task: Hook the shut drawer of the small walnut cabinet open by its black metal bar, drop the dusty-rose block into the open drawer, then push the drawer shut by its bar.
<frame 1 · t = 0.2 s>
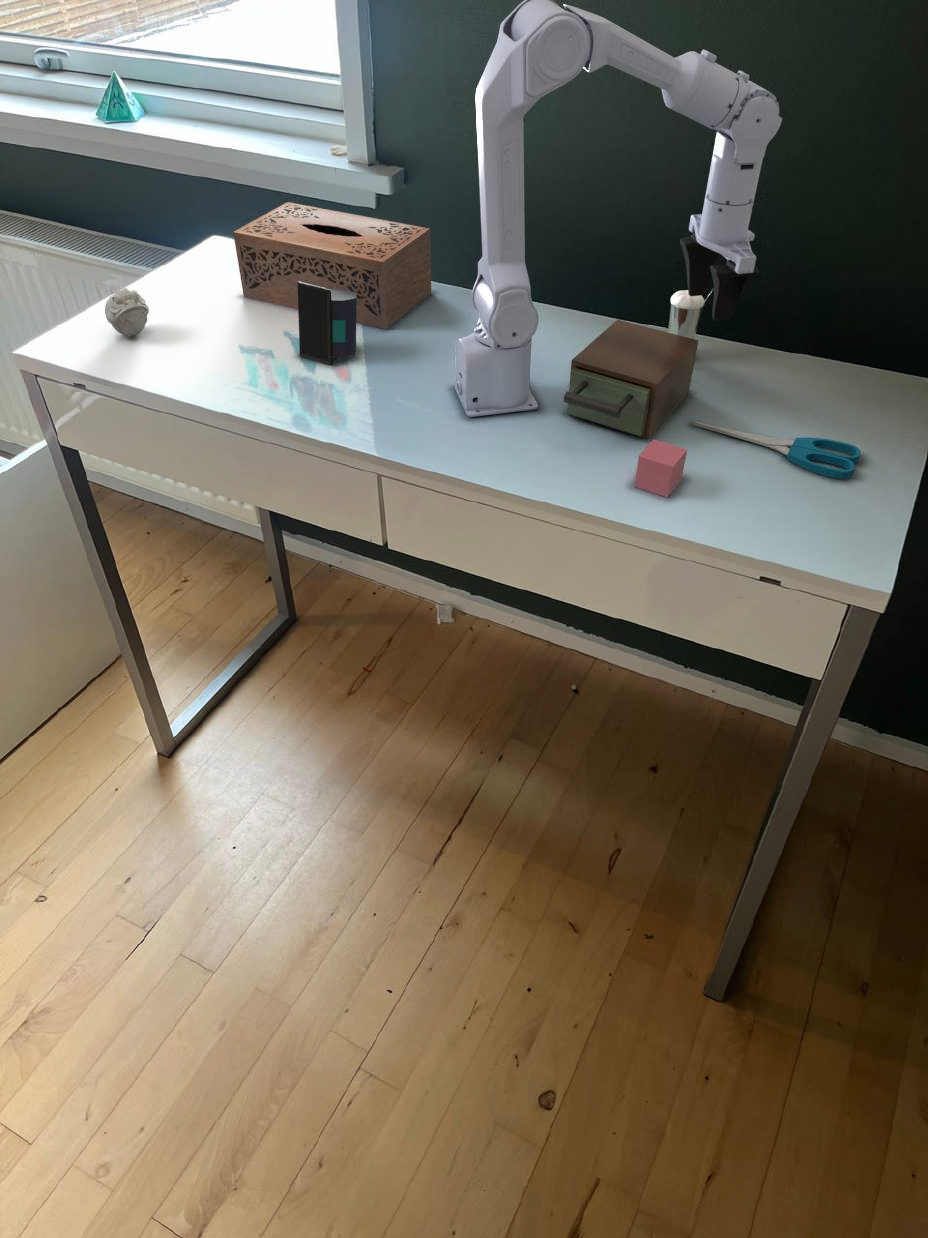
hand: (708, 306, 119), 10 cm above the table, tool pointing down, fingers open, 7 cm apart
block: (657, 483, 107), on the table
milkshake: (680, 356, 131), on the table
frog figurine: (133, 335, 135), on the table
tissue box cover: (338, 295, 145), on the table
cabinet: (628, 403, 121), on the table
speaker: (333, 353, 131), on the table
scissors: (771, 447, 113), on the table
drawer: (618, 390, 116), point 4 cm above the table, slide at 0.0 cm, touching cabinet
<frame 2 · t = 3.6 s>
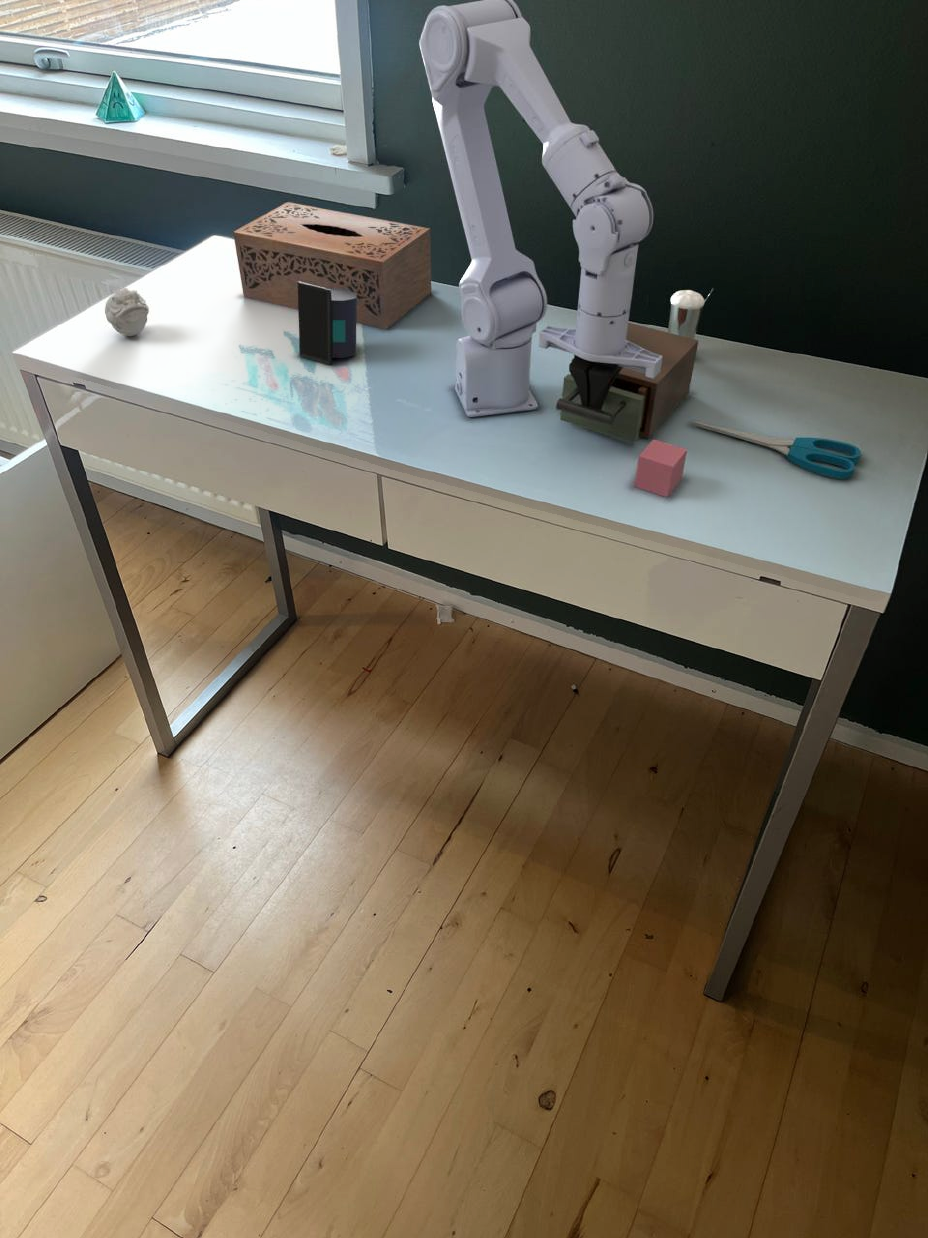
hand: (592, 415, 110), 4 cm above the table, tool pointing down, fingers closed, pressing on drawer
drawer: (612, 397, 114), point 4 cm above the table, slide at 1.9 cm, touching gripper
everything else where it was.
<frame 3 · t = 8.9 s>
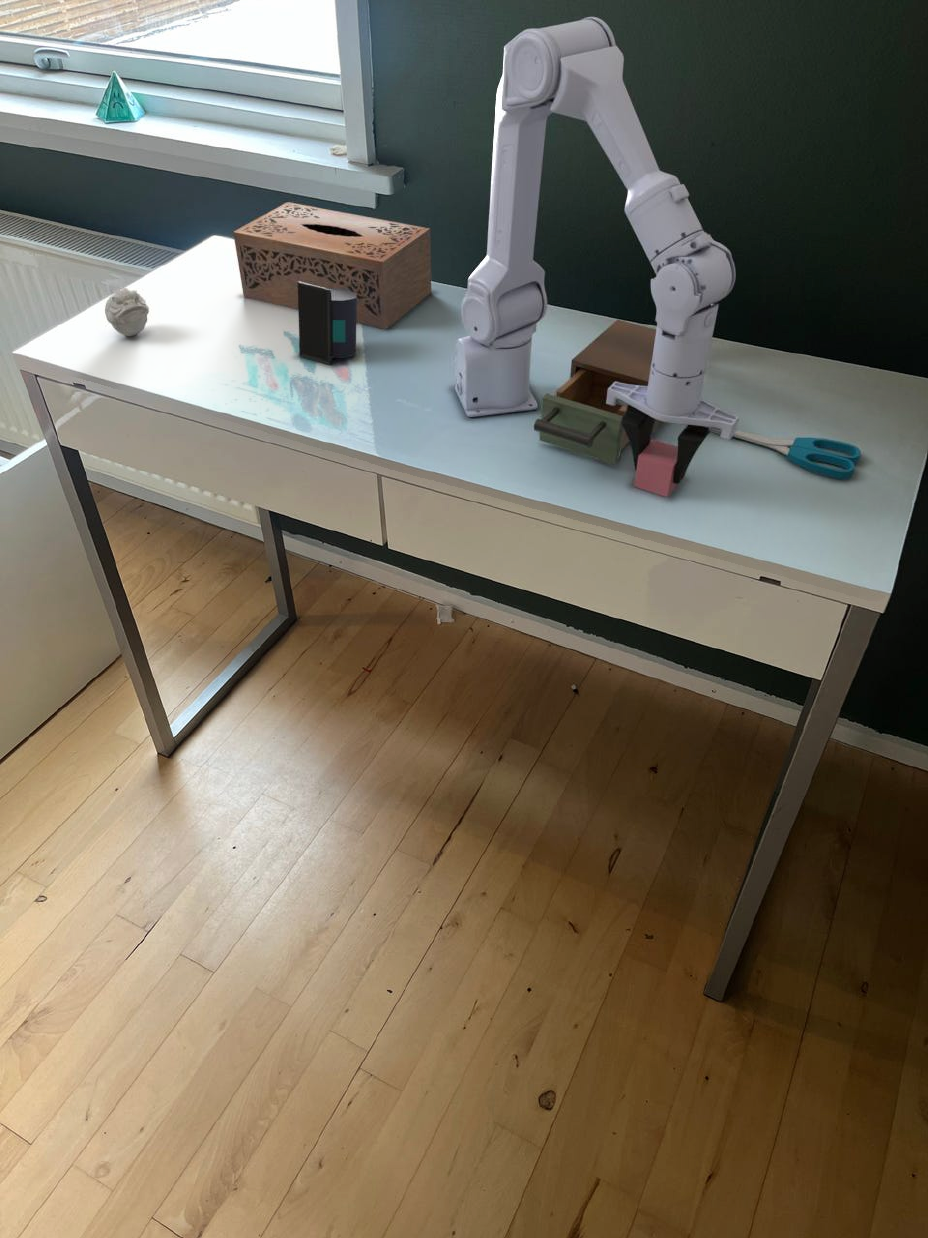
hand: (659, 473, 106), 1 cm above the table, tool pointing down, fingers closed on block, 4 cm apart
block: (657, 483, 107), on the table, touching gripper
drawer: (592, 417, 111), point 4 cm above the table, slide at 7.5 cm
everything else where it was.
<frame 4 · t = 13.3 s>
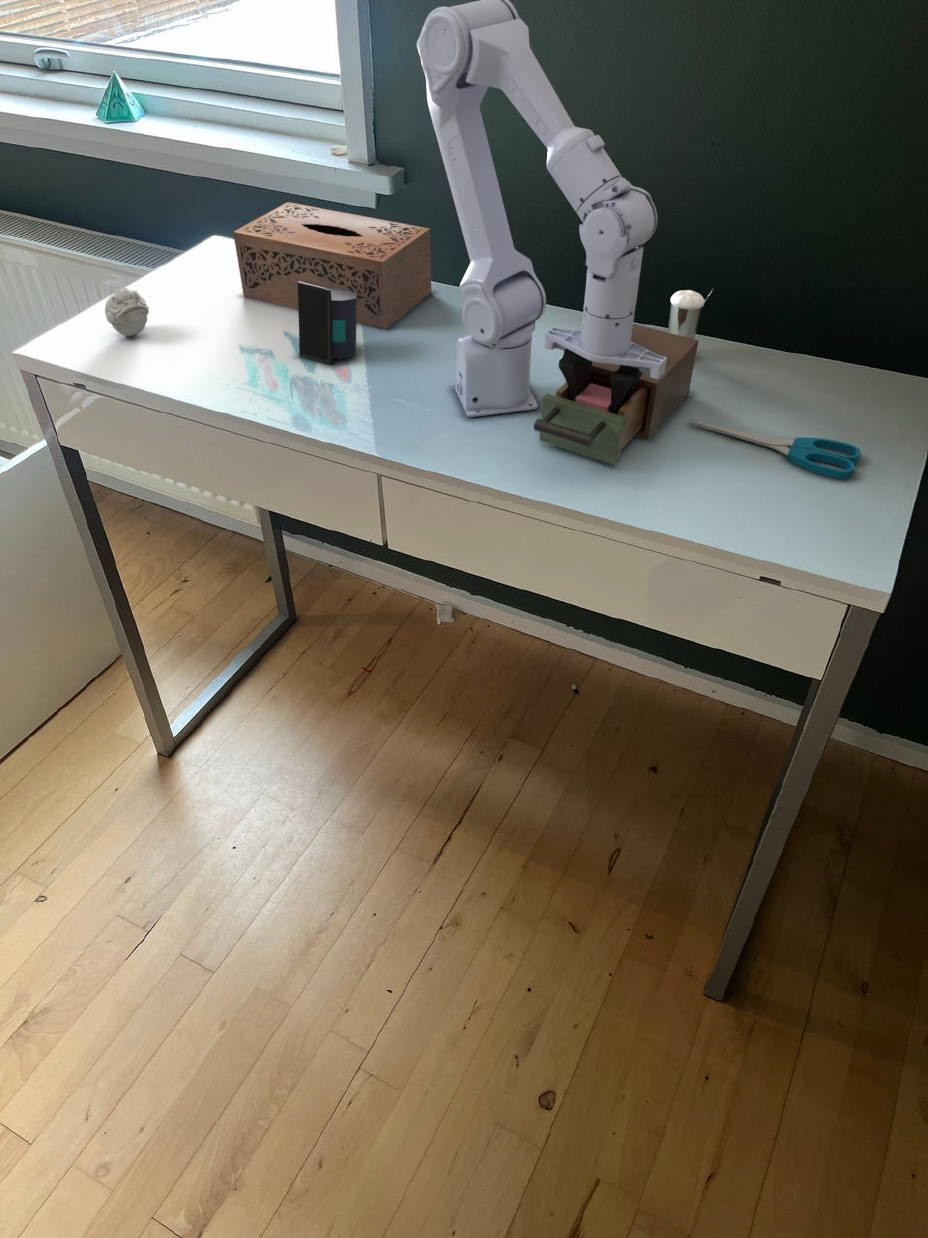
hand: (597, 415, 112), 3 cm above the table, tool pointing down, fingers closed on block, 4 cm apart
block: (595, 425, 113), point 2 cm above the table, touching gripper
drawer: (592, 417, 111), point 4 cm above the table, slide at 7.5 cm, touching gripper
everything else where it was.
when the fingers open (5 cm above the table, at t = 20.0 s): block stays where it is, resting on drawer.
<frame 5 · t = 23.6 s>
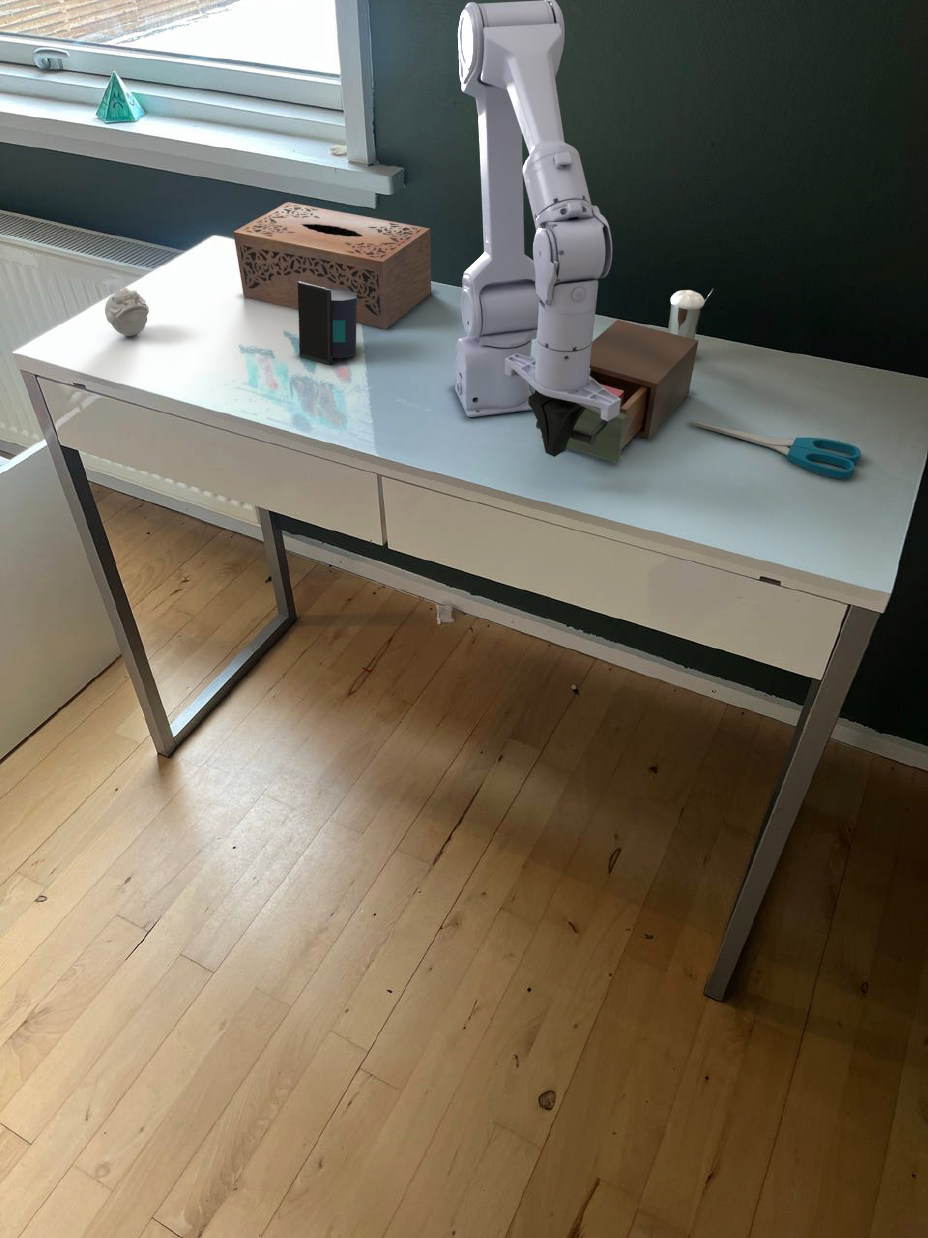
hand: (555, 451, 105), 4 cm above the table, tool pointing down, fingers closed
block: (597, 424, 113), point 2 cm above the table, touching drawer
drawer: (594, 415, 111), point 4 cm above the table, slide at 6.9 cm, touching block, gripper
everything else where it was.
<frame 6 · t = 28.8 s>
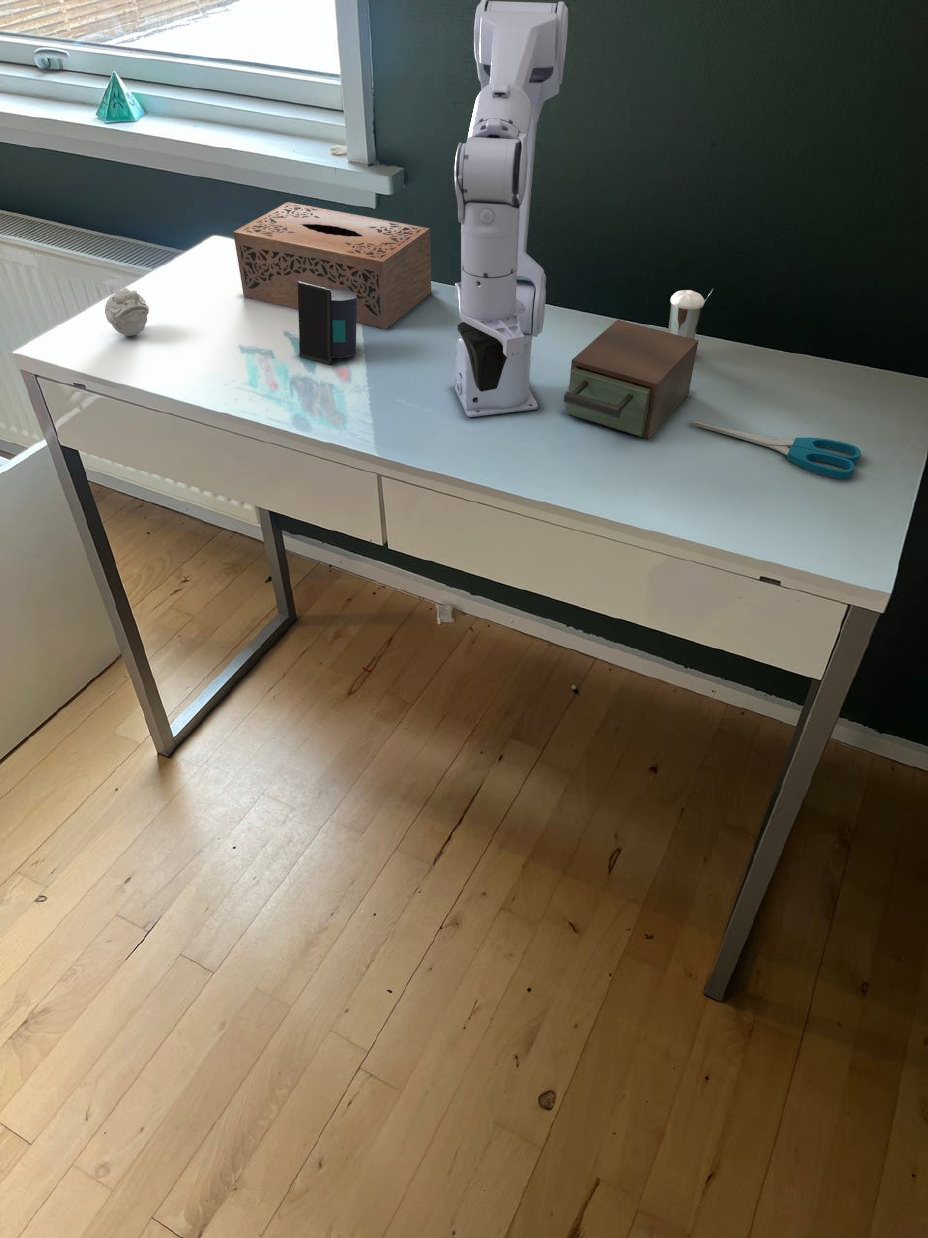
hand: (486, 387, 103), 10 cm above the table, tool pointing down, fingers closed
block: (621, 399, 118), point 2 cm above the table, touching drawer
drawer: (618, 390, 116), point 4 cm above the table, slide at 0.0 cm, touching block
everything else where it was.
at the end: drawer pulled out 7.5 cm at the most during the clip, back to where it started at the end; block inside the target area in the cabinet (0.0 cm from its centre), point 1.9 cm above the cabinet's base; drawer slide at 0.0 cm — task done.
